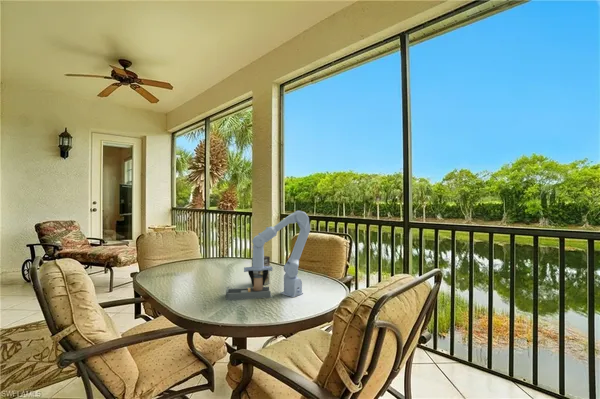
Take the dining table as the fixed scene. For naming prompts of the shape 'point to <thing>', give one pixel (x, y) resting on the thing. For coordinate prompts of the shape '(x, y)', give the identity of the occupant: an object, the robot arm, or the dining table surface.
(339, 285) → the dining table surface
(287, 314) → the dining table surface
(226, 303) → the dining table surface
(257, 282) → the jar
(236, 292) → the tray
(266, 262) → the coffee box
